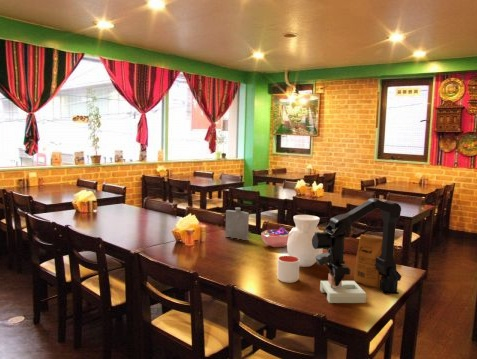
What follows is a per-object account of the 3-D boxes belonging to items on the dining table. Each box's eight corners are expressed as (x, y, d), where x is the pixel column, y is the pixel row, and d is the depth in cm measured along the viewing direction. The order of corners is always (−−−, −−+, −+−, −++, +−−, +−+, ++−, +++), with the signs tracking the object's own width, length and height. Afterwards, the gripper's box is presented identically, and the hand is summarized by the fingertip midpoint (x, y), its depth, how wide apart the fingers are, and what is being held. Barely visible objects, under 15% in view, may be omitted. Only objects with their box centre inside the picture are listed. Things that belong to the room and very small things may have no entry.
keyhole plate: (353, 289, 179) (354, 280, 178) (365, 302, 165) (366, 293, 164) (320, 289, 178) (320, 280, 177) (329, 302, 164) (329, 293, 163)
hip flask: (224, 237, 261) (225, 206, 259) (227, 236, 265) (228, 205, 263) (246, 241, 254) (247, 209, 252) (249, 239, 258) (250, 208, 255)
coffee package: (359, 276, 196) (362, 231, 193) (385, 283, 188) (388, 236, 185) (350, 281, 188) (353, 235, 186) (376, 288, 180) (380, 240, 178)
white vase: (321, 271, 201) (324, 222, 199) (284, 267, 205) (286, 219, 202) (321, 260, 220) (324, 214, 217) (287, 257, 223) (289, 212, 220)
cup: (296, 276, 194) (297, 255, 193) (300, 283, 184) (301, 262, 183) (275, 275, 193) (276, 255, 192) (278, 283, 184) (279, 262, 182)
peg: (337, 293, 173) (338, 272, 172) (340, 297, 169) (342, 276, 168) (327, 293, 173) (328, 272, 172) (330, 297, 169) (331, 276, 168)
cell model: (255, 244, 248) (256, 226, 247) (283, 241, 256) (284, 223, 255) (269, 251, 233) (269, 232, 231) (298, 248, 241) (299, 229, 240)
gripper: (312, 241, 177) (310, 276, 179) (324, 254, 159) (322, 292, 161) (337, 241, 178) (335, 276, 180) (351, 254, 160) (349, 292, 161)
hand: (334, 283), depth 170 cm, fingers closed on peg, 4 cm apart
